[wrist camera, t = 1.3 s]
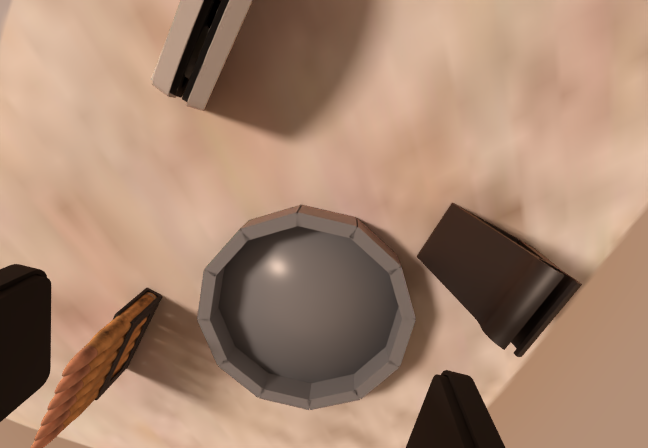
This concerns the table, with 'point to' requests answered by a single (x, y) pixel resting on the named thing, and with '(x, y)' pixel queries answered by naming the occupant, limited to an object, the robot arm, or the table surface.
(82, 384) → the ammunition clip
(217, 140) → the table surface
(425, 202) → the table surface
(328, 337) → the round tray
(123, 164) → the table surface
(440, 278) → the phone stand
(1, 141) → the table surface
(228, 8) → the white electronic device
